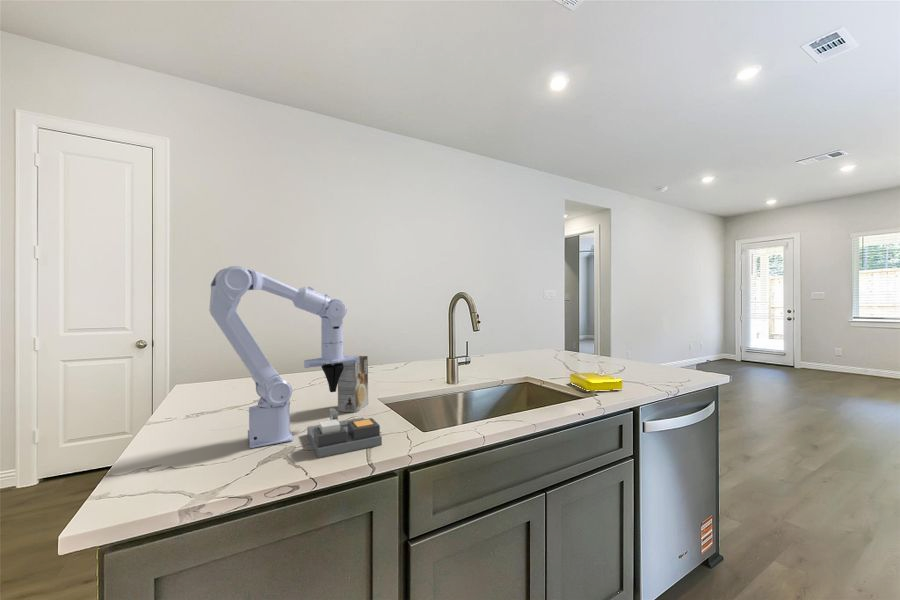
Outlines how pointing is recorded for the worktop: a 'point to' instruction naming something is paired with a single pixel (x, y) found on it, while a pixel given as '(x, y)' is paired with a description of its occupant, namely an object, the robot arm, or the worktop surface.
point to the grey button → (329, 426)
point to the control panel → (345, 438)
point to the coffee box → (353, 386)
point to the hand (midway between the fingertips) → (332, 391)
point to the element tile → (596, 381)
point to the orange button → (362, 423)
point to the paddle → (333, 414)
